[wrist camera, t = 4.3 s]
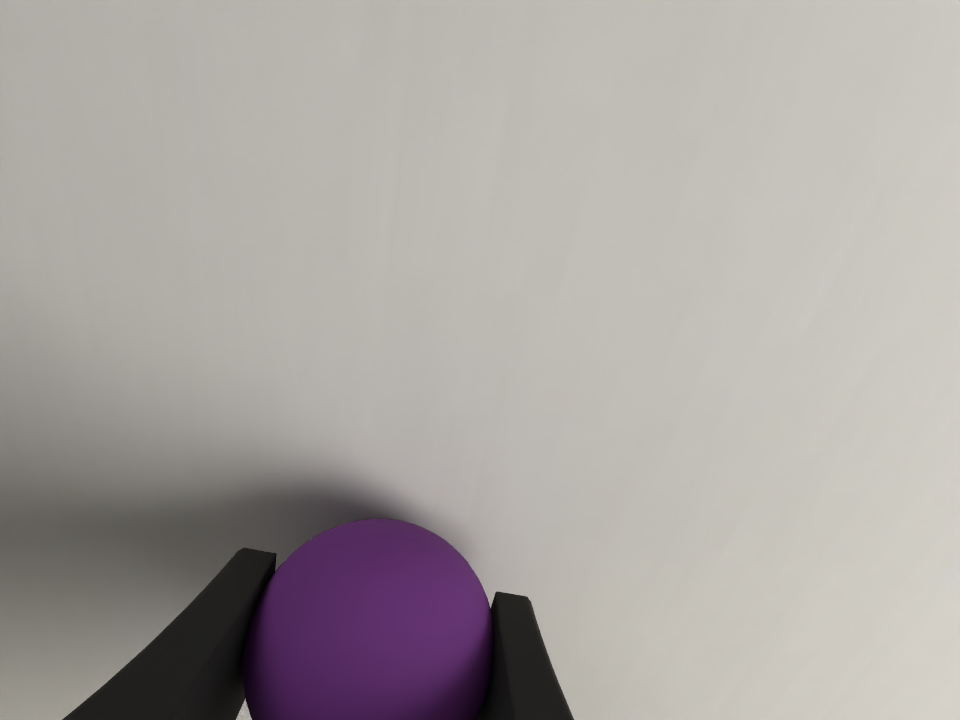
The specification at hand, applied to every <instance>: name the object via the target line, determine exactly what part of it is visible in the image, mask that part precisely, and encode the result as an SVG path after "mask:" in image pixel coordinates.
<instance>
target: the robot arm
mask: <svg viewBox="0 0 960 720" xmlns="http://www.w3.org/2000/svg"><path fill="white" fill-rule="evenodd" d="M276 554H277V553H271V552H265V551H260V550H254V549H248V548H243V549H241V550H239V551H237V553H236V554H235V555H234V556H233V557H232V559H231V560H230V561H229V562H228V563H227V564H226V566H225V567H224V568H223V569H222V570H221V571H220V572H219V573H218V575H217V576H216V577H215V578H214V579H213V580H212V581H211V582H210V583H209V584H208V586H207V587H206V588H205V589H204V590H203V591H202V592H201V593H200V594H199V595H198V596H197V597H196V598H195V599H194V600H193V601H192V602H191V603H190V604H189V606H188V607H187V608H186V609H185V610H184V611H183V612H182V613H181V614H179V615H178V616H177V617H176V618H175V619H174V620H173V621H172V622H171V623H170V624H169V625H168V626H167V627H166V628H165V629H164V630H163V631H162V632H161V633H160V634H159V635H158V636H157V637H156V638H155V639H154V640H153V641H152V642H151V643H150V644H149V645H148V646H147V647H146V648H145V649H143V650H142V651H141V652H140V653H139V654H138V655H137V656H136V657H135V658H133V659H132V660H131V661H130V662H129V663H128V664H127V665H126V666H125V667H123V668H122V669H121V670H120V671H119V672H118V673H117V674H116V675H115V676H113V677H112V678H111V679H110V680H109V681H108V682H107V683H106V684H105V685H103V686H102V687H101V688H100V689H99V690H98V691H96V692H95V693H94V694H93V695H92V696H90V697H89V698H88V699H87V700H86V701H85V702H83V703H82V704H81V705H80V706H78V707H77V708H76V709H75V710H74V711H72V712H71V713H70V714H69V715H67V716H66V717H65V718H64V719H62V720H236V718H237V715H238V713H239V711H240V709H241V707H242V704H243V702H244V700H245V692H244V685H243V677H242V669H243V653H244V647H245V642H246V638H247V634H248V631H249V628H250V624H251V621H252V618H253V615H254V612H255V610H256V607H257V605H258V602H259V600H260V597H261V594H262V592H263V590H264V588H265V586H266V584H267V583H268V581H269V580H270V578H271V577H272V576H273V574H274V573H275V567H276ZM491 613H492V618H493V627H494V639H493V658H492V669H491V678H490V683H489V688H488V693H487V696H486V699H485V703H484V705H483V708H482V710H481V712H480V714H479V716H478V718H477V720H574V719H573V716H572V714H571V711H570V709H569V707H568V704H567V702H566V699H565V697H564V695H563V692H562V690H561V687H560V685H559V683H558V680H557V677H556V675H555V672H554V670H553V667H552V664H551V662H550V659H549V656H548V653H547V651H546V648H545V645H544V642H543V639H542V636H541V633H540V630H539V627H538V624H537V621H536V618H535V614H534V611H533V608H532V604H531V601H530V600H529V599H528V597H525V596H520V595H514V594H508V593H502V592H496V593H495V597H494V600H493V603H492V606H491Z"/></svg>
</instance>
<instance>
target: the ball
mask: <svg viewBox="0 0 960 720" xmlns="http://www.w3.org/2000/svg"><path fill="white" fill-rule="evenodd" d="M493 639H494V627H493V618H492V613H491V609H490V606H489V602H488V599H487V596H486V594H485V592H484V589H483V587H482V585H481V583H480V581H479V579H478V577H477V576H476V574H475V573H474V571H473V570H472V568H471V567H470V565H469V564H468V562H467V561H466V560H465V559H464V558H463V556H462V555H461V554H460V553H459V552H458V551H457V550H456V549H455V548H453V547H452V546H451V545H450V544H449V543H448V542H446V541H445V540H444V539H442V538H441V537H439V536H438V535H436V534H434V533H432V532H431V531H429V530H427V529H424V528H422V527H419V526H417V525H414V524H411V523H407V522H403V521H398V520H392V519H364V520H358V521H352V522H349V523H345V524H342V525H339V526H336V527H334V528H331V529H329V530H326V531H324V532H322V533H321V534H319V535H317V536H315V537H314V538H312V539H310V540H309V541H307V542H306V543H305V544H303V545H302V546H301V547H299V548H298V549H297V550H295V551H294V552H293V553H292V554H291V555H290V556H289V557H288V558H287V559H286V560H285V561H284V562H283V563H282V564H281V565H280V566H279V568H278V569H277V570H276V572H275V573H274V574H273V576H272V577H271V578H270V580H269V581H268V583H267V584H266V586H265V588H264V590H263V592H262V594H261V597H260V600H259V602H258V605H257V607H256V610H255V612H254V615H253V618H252V621H251V624H250V628H249V631H248V634H247V638H246V642H245V647H244V653H243V669H242V677H243V685H244V692H245V698H246V702H247V705H248V709H249V712H250V715H251V718H252V720H477V718H478V716H479V714H480V712H481V710H482V708H483V705H484V703H485V699H486V696H487V693H488V688H489V683H490V678H491V669H492V658H493Z"/></svg>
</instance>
